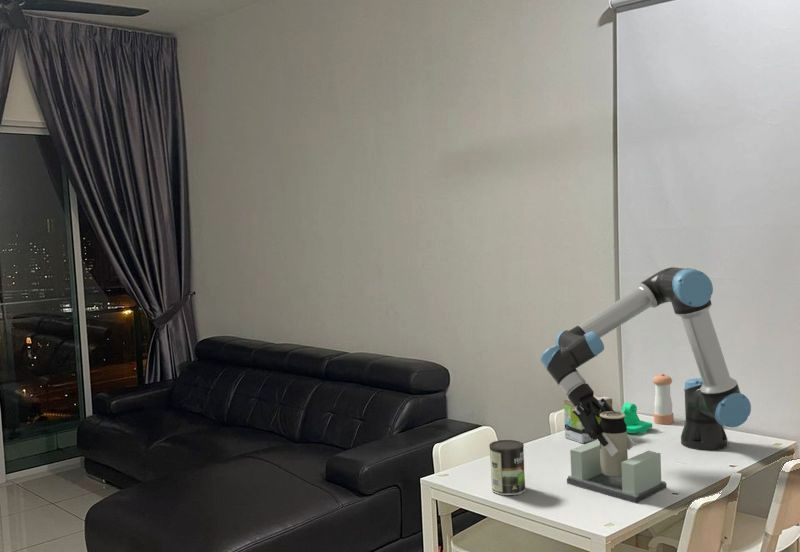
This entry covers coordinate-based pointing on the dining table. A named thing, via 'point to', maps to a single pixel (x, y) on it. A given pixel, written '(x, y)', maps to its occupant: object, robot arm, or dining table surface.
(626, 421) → the camera mount
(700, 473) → the dining table surface
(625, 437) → the travel mug
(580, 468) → the grey block holder
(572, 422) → the tea box
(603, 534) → the dining table surface
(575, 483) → the rail plate
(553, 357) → the robot arm
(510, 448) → the coffee can
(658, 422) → the pepper shaker
